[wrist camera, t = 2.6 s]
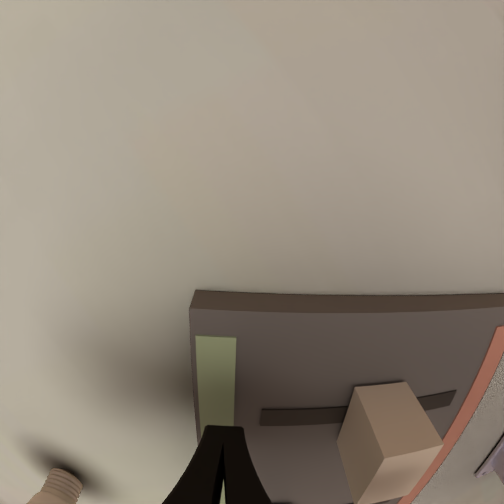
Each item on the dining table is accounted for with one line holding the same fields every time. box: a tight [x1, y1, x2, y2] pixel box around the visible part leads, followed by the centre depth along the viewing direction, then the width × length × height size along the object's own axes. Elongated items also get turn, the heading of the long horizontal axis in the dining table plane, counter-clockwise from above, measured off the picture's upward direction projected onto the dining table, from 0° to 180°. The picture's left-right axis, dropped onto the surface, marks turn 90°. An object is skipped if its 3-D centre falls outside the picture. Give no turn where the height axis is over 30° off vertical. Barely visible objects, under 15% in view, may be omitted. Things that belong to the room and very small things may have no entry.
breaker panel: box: [189, 290, 504, 504], centre depth 16 cm, size 15×30×2 cm, turn 177°
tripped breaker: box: [337, 382, 444, 504], centre depth 10 cm, size 2×4×4 cm
